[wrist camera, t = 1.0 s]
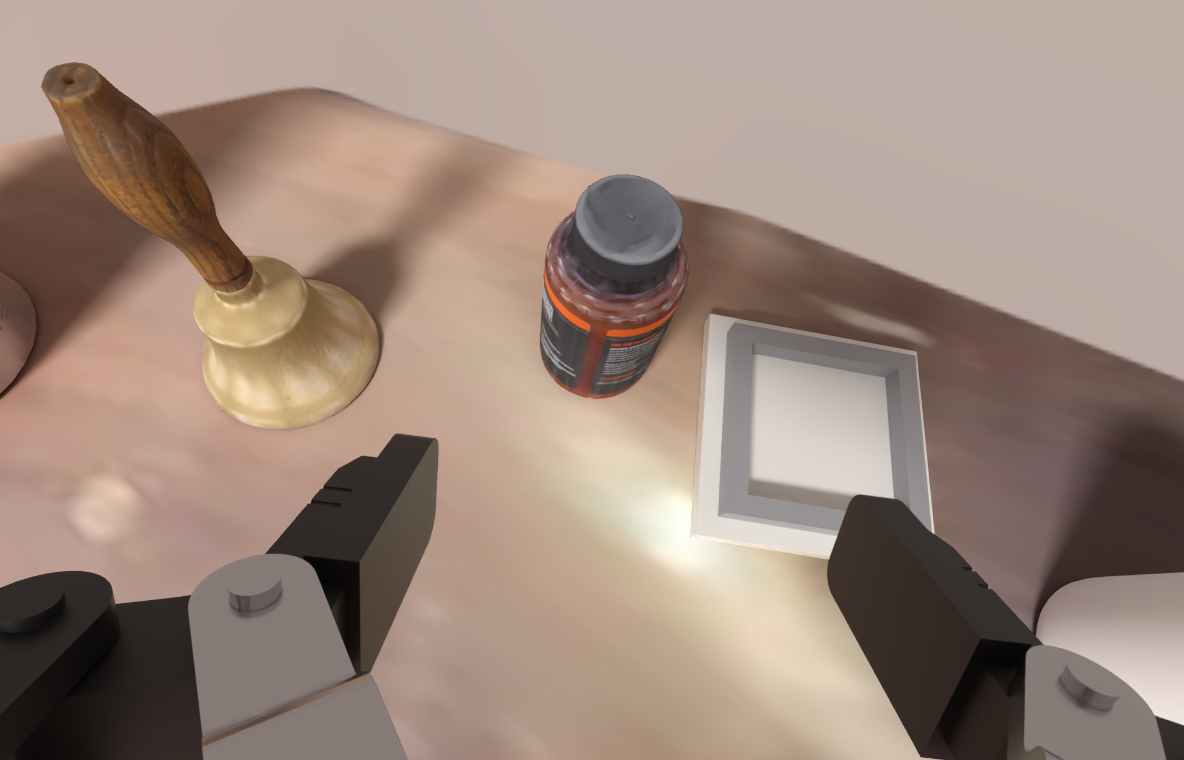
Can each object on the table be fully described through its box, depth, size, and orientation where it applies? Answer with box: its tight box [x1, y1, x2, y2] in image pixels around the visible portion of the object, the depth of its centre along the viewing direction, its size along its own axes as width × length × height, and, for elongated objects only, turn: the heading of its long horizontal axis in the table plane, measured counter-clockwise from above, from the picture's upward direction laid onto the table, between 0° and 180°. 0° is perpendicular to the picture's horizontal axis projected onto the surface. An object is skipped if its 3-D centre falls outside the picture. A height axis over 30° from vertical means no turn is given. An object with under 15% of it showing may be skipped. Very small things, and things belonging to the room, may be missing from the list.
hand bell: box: [41, 62, 379, 430], centre depth 21 cm, size 8×8×16 cm
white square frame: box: [690, 314, 934, 559], centre depth 29 cm, size 12×12×2 cm
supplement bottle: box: [540, 175, 689, 399], centre depth 25 cm, size 6×6×11 cm
